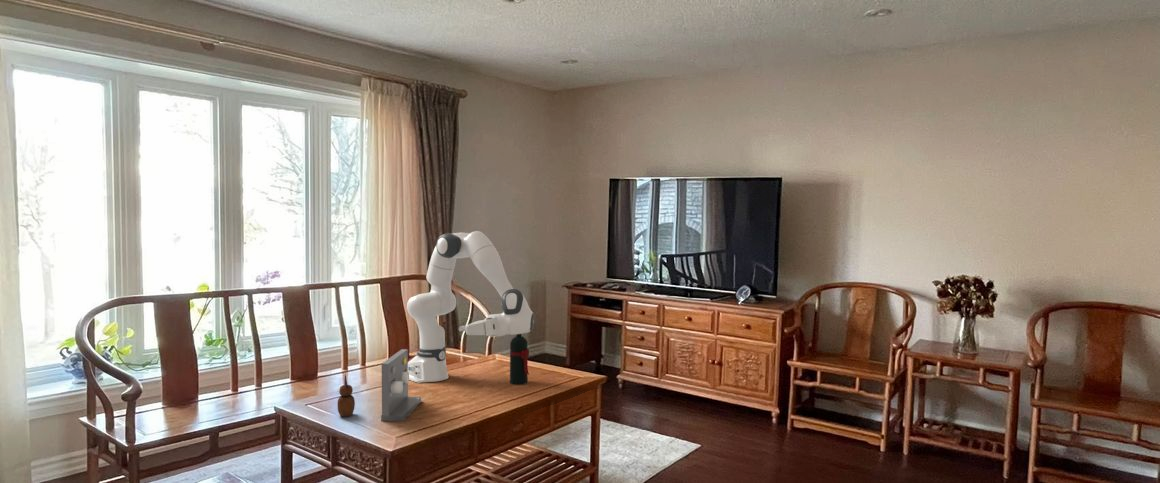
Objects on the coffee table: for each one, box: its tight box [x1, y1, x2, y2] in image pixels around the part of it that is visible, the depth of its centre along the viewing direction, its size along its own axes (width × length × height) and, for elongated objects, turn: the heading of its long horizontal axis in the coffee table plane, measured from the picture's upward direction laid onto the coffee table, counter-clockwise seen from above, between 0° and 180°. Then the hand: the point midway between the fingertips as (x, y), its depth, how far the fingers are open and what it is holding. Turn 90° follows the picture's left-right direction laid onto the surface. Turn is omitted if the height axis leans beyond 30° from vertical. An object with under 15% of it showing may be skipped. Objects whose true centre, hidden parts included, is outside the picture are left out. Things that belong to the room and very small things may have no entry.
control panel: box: [380, 348, 422, 422], centre depth 250 cm, size 8×24×21 cm, turn 178°
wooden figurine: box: [337, 373, 356, 418], centre depth 244 cm, size 7×6×15 cm
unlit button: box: [391, 381, 403, 394], centre depth 243 cm, size 3×4×4 cm
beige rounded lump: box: [402, 372, 410, 384], centre depth 257 cm, size 3×4×4 cm
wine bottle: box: [509, 334, 530, 386], centre depth 291 cm, size 8×10×30 cm
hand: (459, 328), depth 262 cm, fingers closed
